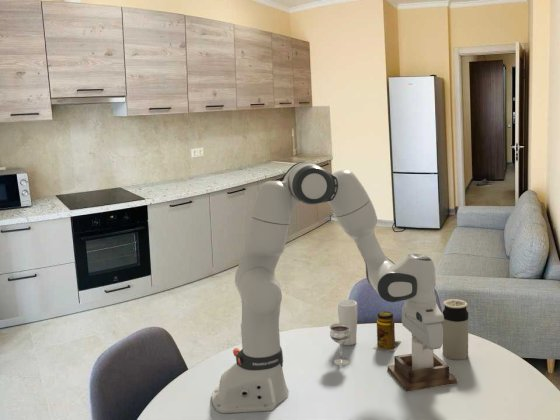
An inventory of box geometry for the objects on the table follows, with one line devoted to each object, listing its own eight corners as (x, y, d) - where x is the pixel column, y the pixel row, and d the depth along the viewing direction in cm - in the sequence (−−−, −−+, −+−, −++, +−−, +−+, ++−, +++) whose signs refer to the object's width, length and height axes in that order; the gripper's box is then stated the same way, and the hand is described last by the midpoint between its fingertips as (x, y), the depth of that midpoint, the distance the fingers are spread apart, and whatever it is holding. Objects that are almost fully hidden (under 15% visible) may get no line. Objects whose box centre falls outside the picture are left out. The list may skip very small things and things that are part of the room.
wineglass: (355, 363, 175) (354, 328, 173) (337, 368, 173) (335, 333, 171) (345, 355, 181) (344, 321, 179) (327, 359, 179) (325, 325, 177)
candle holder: (406, 391, 156) (406, 375, 155) (387, 370, 170) (387, 355, 169) (457, 383, 159) (457, 367, 158) (434, 362, 173) (434, 348, 172)
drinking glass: (357, 347, 187) (356, 306, 184) (338, 346, 188) (336, 306, 186) (358, 339, 193) (357, 299, 191) (340, 338, 195) (338, 299, 192)
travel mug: (470, 360, 173) (470, 307, 170) (444, 360, 174) (444, 307, 171) (465, 349, 180) (466, 298, 177) (441, 349, 182) (441, 298, 179)
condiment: (373, 348, 185) (372, 315, 183) (380, 339, 193) (379, 307, 191) (394, 352, 182) (393, 318, 180) (400, 342, 189) (400, 309, 187)
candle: (433, 367, 166) (433, 321, 164) (433, 377, 160) (433, 330, 158) (412, 366, 168) (411, 320, 165) (411, 376, 162) (411, 329, 159)
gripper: (396, 297, 170) (397, 338, 172) (426, 321, 150) (426, 367, 153) (414, 295, 171) (415, 336, 173) (447, 318, 151) (447, 363, 154)
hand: (420, 350), depth 163 cm, fingers closed on candle, 3 cm apart
